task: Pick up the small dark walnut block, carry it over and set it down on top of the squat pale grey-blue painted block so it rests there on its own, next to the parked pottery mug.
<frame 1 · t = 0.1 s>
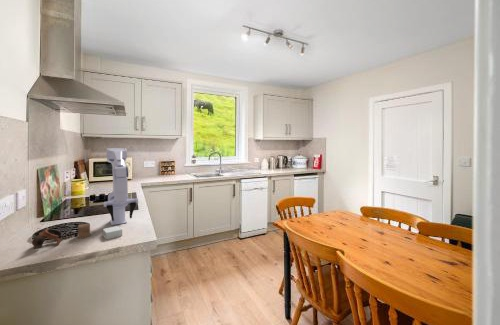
hand: (121, 219, 115), 10 cm above the kitchen counter, fingers open, 7 cm apart
walnut block: (84, 236, 118), on the kitchen counter
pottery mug: (46, 246, 107), on the kitchen counter
base block: (112, 235, 120), on the kitchen counter
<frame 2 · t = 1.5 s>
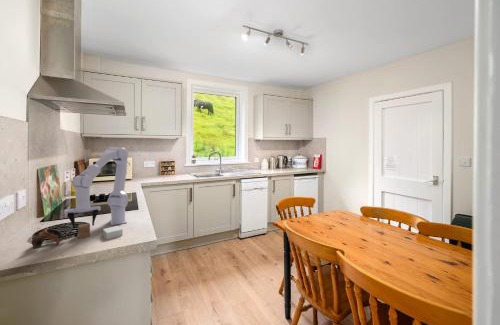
hand: (83, 226, 118), 5 cm above the kitchen counter, fingers open, 7 cm apart
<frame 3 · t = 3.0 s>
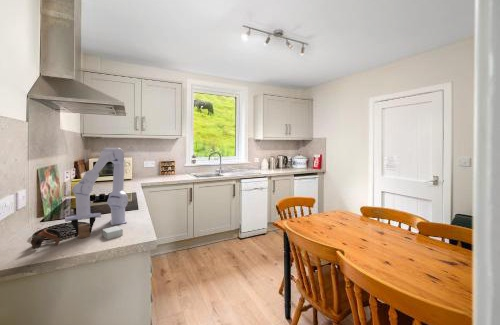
hand: (84, 233, 118), 1 cm above the kitchen counter, fingers closed on walnut block, 4 cm apart
walnut block: (84, 236, 118), on the kitchen counter, touching gripper
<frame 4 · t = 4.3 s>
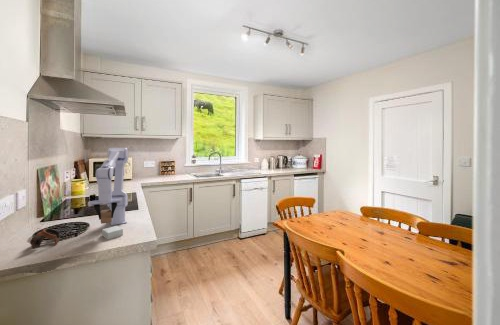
hand: (106, 218, 119), 9 cm above the kitchen counter, fingers closed on walnut block, 4 cm apart
walnut block: (106, 221, 119), point 7 cm above the kitchen counter, touching gripper
when the fingers open (6 cm above the kitchen counter, at t = 5.9 s): walnut block stays where it is, resting on base block.
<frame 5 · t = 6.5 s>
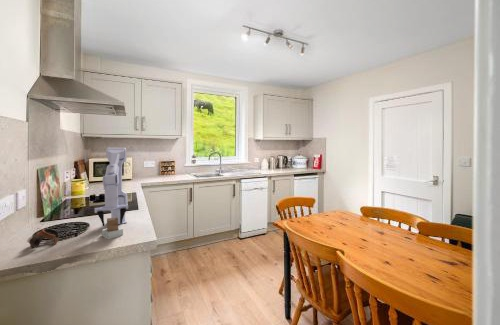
hand: (112, 224, 119), 6 cm above the kitchen counter, fingers open, 7 cm apart
walnut block: (112, 229, 120), point 3 cm above the kitchen counter, touching base block
base block: (112, 235, 120), on the kitchen counter, touching walnut block
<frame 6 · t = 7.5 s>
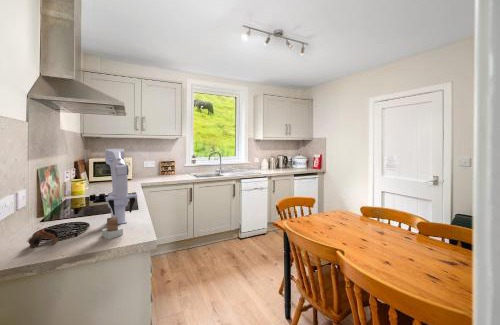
hand: (122, 213, 125), 10 cm above the kitchen counter, fingers open, 7 cm apart
walnut block: (112, 229, 120), point 3 cm above the kitchen counter
base block: (112, 235, 120), on the kitchen counter
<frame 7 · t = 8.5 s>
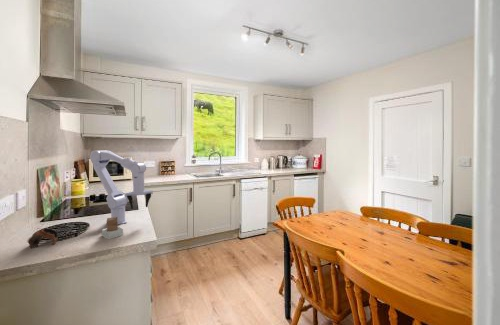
hand: (139, 207, 135), 10 cm above the kitchen counter, fingers open, 7 cm apart
walnut block: (112, 229, 120), point 3 cm above the kitchen counter, touching base block
base block: (112, 235, 120), on the kitchen counter, touching walnut block
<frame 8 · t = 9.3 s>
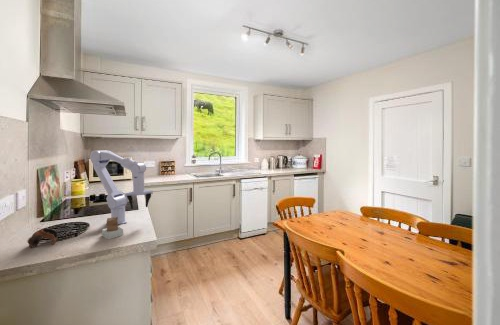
hand: (139, 207, 135), 10 cm above the kitchen counter, fingers open, 7 cm apart
at the end: walnut block 0.3 cm off-centre on the base block, point 3.5 cm above the base block's base; walnut block tilted 1°; the gripper is holding nothing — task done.
